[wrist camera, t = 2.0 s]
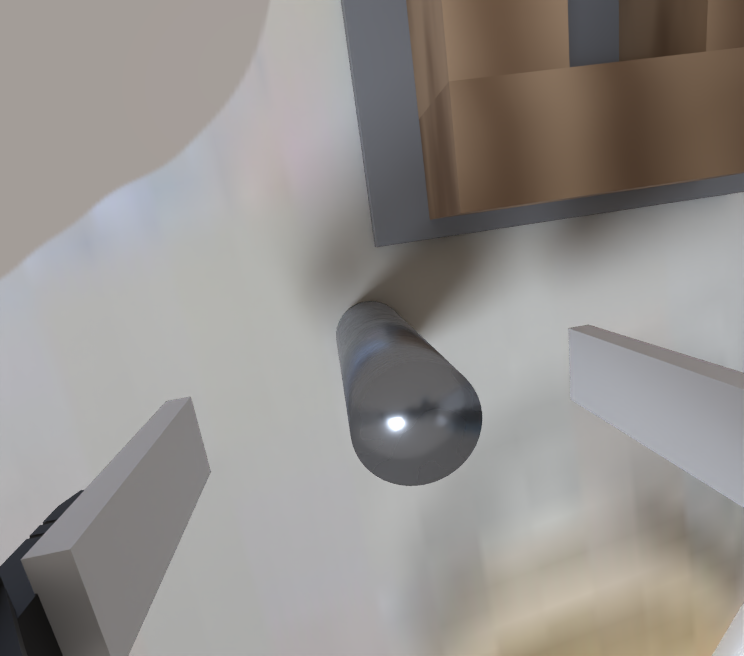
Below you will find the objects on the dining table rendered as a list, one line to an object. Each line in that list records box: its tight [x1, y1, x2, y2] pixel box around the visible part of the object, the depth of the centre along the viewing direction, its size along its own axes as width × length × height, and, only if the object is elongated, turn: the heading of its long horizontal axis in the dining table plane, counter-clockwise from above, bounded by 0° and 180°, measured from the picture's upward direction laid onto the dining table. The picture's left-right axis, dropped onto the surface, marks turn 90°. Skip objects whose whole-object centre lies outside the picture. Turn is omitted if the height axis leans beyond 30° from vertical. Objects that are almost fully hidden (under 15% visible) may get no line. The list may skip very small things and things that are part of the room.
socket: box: [341, 0, 744, 247], centre depth 19 cm, size 22×18×6 cm
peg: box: [336, 301, 482, 486], centre depth 18 cm, size 4×4×12 cm
